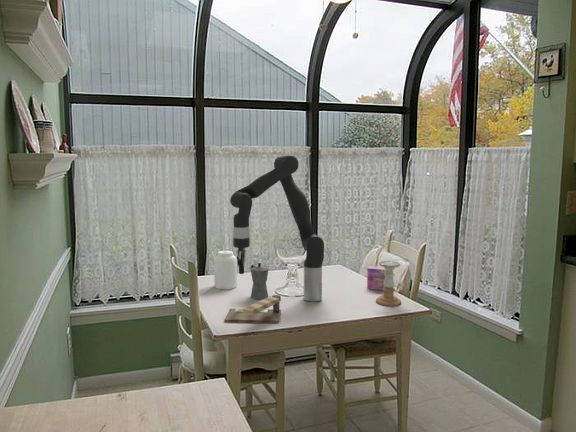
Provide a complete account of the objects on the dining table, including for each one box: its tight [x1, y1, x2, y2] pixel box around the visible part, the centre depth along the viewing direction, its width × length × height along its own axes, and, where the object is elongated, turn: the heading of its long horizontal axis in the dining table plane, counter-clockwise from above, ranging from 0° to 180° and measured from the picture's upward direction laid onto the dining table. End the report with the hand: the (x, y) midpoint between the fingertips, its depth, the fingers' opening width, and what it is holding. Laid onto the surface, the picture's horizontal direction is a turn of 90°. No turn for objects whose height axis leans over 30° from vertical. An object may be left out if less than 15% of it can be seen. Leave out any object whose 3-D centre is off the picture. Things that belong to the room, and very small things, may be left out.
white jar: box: [213, 249, 238, 290], centre depth 268 cm, size 12×12×20 cm
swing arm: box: [242, 294, 282, 315], centre depth 215 cm, size 24×5×2 cm, turn 149°
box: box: [366, 265, 386, 291], centre depth 268 cm, size 10×6×12 cm, turn 68°
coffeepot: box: [250, 262, 269, 301], centre depth 251 cm, size 15×9×18 cm, turn 33°
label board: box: [224, 301, 282, 324], centre depth 220 cm, size 24×15×6 cm, turn 88°
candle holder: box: [375, 260, 402, 307], centre depth 242 cm, size 12×12×20 cm
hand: (241, 273), depth 223 cm, fingers closed
